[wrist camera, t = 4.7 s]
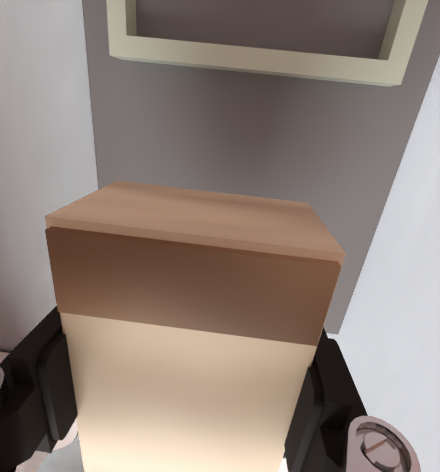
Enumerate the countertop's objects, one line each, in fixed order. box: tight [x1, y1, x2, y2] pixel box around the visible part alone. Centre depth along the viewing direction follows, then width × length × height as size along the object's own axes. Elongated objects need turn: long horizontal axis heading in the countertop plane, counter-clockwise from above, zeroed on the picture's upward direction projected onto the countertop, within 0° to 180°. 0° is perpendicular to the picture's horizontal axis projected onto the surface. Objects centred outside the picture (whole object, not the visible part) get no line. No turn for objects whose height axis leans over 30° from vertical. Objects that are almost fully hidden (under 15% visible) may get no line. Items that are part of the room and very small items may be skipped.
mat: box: [82, 0, 440, 334], centre depth 14 cm, size 26×16×1 cm, turn 175°
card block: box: [45, 181, 346, 472], centre depth 9 cm, size 9×6×4 cm, turn 174°
